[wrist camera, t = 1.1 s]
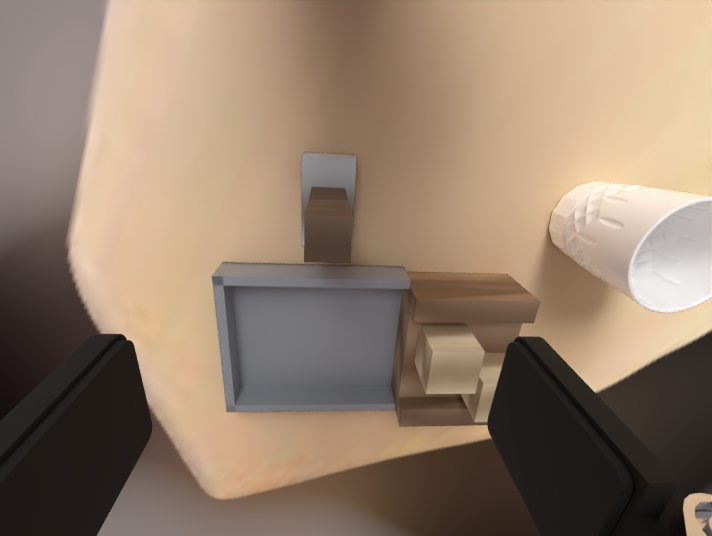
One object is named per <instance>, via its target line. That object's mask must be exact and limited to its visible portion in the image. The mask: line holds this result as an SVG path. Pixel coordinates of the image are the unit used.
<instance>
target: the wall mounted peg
mask: <svg viewBox="0 0 712 536" xmlns="http://www.w3.org/2000/svg"><path fill="white" fill-rule="evenodd" d="M301 157H302V247H304V262H328V263H351V248H352V235H353V216H354V198H355V179H356V161H357V157H356V156H355V155H353V154H333V153H314V152H303V153H302V155H301Z"/></svg>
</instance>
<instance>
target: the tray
mask: <svg viewBox="0 0 712 536" xmlns="http://www.w3.org/2000/svg"><path fill="white" fill-rule="evenodd" d="M212 280H213V289H214V299H215V308H216V317H217V326H218V336H219V345H220V354H221V363H222V373H223V382H224V391H225V400H226V410H227V412H283V411H362V410H394V409H395V401H394V397H393V393H392V389H391V381H392V372H393V364H394V355H395V347H396V338H397V330H398V321H399V312H400V304H401V295H402V289H410V281H411V280H410V278H409V276H408V274H407V272H406V270H405V269H404V267H398V266H357V265H315V264H273V263H232V262H222V264H221V265H220V266H219V268H218V269H217V270H216V272H215V273H214V274H213V276H212Z"/></svg>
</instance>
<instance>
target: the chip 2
mask: <svg viewBox="0 0 712 536" xmlns="http://www.w3.org/2000/svg"><path fill="white" fill-rule="evenodd" d="M504 357H505V353H485V354H484V358H483V362H482V366H481V371H480V375H479V379H478V384H477V388H476V392H475V394H461V396H462V398H463V400H464V402H465V404H466V406H467V408H468V410H469V412H470V414H471V416H472V418H473V420H474V422H487V420H488V415H489V412H490V408H491V404H492V401H493V397H494V394H495V390H496V386H497V383H498V379H499V375H500V372H501V368H502V364H503V361H504Z"/></svg>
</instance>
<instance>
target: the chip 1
mask: <svg viewBox="0 0 712 536" xmlns="http://www.w3.org/2000/svg"><path fill="white" fill-rule="evenodd" d="M484 354H485V351H484V350H483V348H482V347H481V345H480V344H479V342H478V341H477V339H476V338H475V336H474V335H473V333H472V332H471V330H470V329H469V327H468V326H467V325H466V324H458V323H420V327H419V334H418V341H417V348H416V355H415V365H416V368H417V371H418V373H419V376H420V379H421V382H422V384H423V387H424V390H425V393H426V394H475V392H476V388H477V384H478V379H479V375H480V371H481V366H482V362H483V358H484Z"/></svg>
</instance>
